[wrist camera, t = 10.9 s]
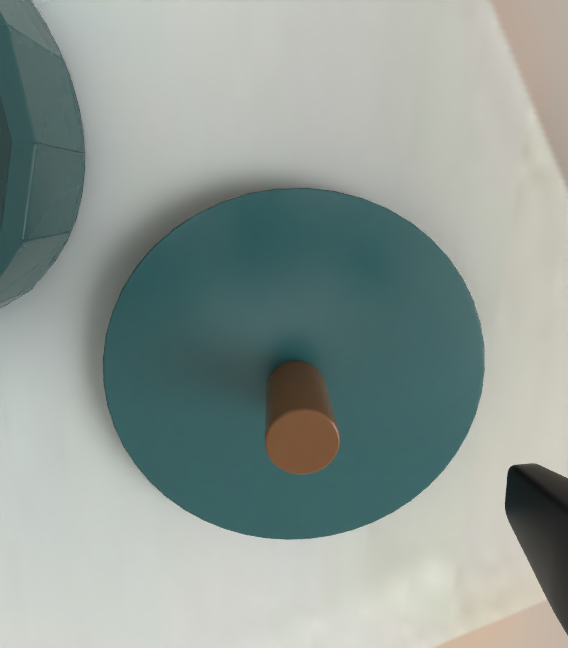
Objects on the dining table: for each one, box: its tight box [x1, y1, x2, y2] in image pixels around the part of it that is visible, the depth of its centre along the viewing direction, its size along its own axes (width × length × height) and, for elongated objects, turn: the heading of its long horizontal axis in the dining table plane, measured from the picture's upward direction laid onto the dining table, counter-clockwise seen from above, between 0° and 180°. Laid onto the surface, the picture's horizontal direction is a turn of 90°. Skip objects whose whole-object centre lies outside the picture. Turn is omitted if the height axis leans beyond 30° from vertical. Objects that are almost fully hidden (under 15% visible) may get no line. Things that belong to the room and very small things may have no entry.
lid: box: [103, 188, 485, 539], centre depth 16 cm, size 15×15×5 cm
